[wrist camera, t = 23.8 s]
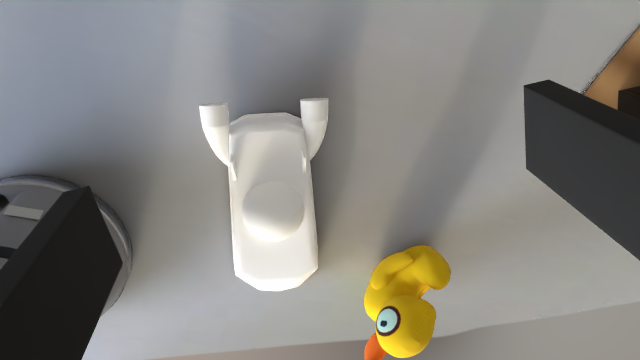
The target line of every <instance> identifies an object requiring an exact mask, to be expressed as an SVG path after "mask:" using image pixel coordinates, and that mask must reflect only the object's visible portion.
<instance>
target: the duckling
mask: <svg viewBox="0 0 640 360" xmlns="http://www.w3.org/2000/svg"><path fill="white" fill-rule="evenodd" d="M450 274H451V271H450V267H449V265H448V263H447V262H446V260H445V259H444V258H443V257H442V256H441V255H440V254H439V253H438V252H437V251H436V250H434V249H433V248H431V247H429V246H426V245H417V246H413V247H411V248H408V249H406V250H404V251H403V252H398V253H394V254H392V255H390V256H388V257H386V258H385V259H383V260H382V261H381V262H380V263H379V265H378V266H377V267H376V268H375V269H374V271H373V273H372V275H371V280H370V282H369V285H368V287H367V290H366V293H365V297H364V306H365V309H366V312H367V314H368V315H369V316H370V317H371V318H372V319H373V320H374V321H376V333H375V334H373V335H372V336H371V337H370V339H369V341H368V343H367V345H366V347H365V360H382V359H383V357H384V356H385V355H386V354H387V353H389V354H391V355H392V356H394V357H398V358H406V357H411V356H414V355H416V354H418V353H419V352H421V351H422V350H423V349H424V348H425V347H426V346H427V344H428V343H429V341H430V339H431V337H432V334H433V330H434V324H435V319H436V311H435V309H434V307H433V306H432V305H431V304H430V303H429V302H427V301H425V300H423V299H420V298H421V297H422V295H423V294H424V293H425V292H426V291H427V290H429V289H430V288H433V289H435V290H440V289H443V288H444V287H445V286H446V285H447V284H448V282H449V279H450Z"/></svg>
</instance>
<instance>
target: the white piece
mask: <svg viewBox="0 0 640 360" xmlns="http://www.w3.org/2000/svg"><path fill="white" fill-rule="evenodd" d="M300 107H301V118H298V117H296V116H293V115H291V114H288V113H286V112H283V113H262V114H246V115H244V116H242V117H240V118H238V119H236V120H234V121H232V122H229V108H228V103H208V104H201V105H199V110H200V116H201V123H202V127H203V130H204V133H205V135H206V138H207V140H208V142H209V144H210V146H211V148H212V149H213V151H214V152H215V154H216V155H217V157H218V158H219V159H220V160H221V161H222V162H223V163H224V164H226V165H227V166H228V172H229V191H230V209H231V226H232V243H233V260H234V267H235V275H236V276H238V277H239V278H241V279H243V280H244V281H246V282H247V283H249V284H250V285H252V286H254V287H255V288H257V289H258V290H268V291H282V290H286V289H290V288H294V287H298V286H299V285H300V284H301V283H303V282H304V281H305V280H306V279H307V278H308V277H309V276H310V275H311V274H312V273H314V272H315V271H316V270H317V269H318V244H317V232H316V221H315V210H314V199H313V188H312V177H311V167H310V160H311V159H312V158H313V157H314V155H315V154H316V153H317V151H318V150H319V148H320V145H321V143H322V141H323V138H324V135H325V132H326V127H327V122H328V98H308V99H302V100H300Z"/></svg>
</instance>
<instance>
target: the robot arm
mask: <svg viewBox="0 0 640 360" xmlns="http://www.w3.org/2000/svg"><path fill="white" fill-rule="evenodd" d="M524 110H525V142H526V169H527V170H529V171H530V172H531V173H532V174H534V175H535V176H536V177H537V178H539V179H540V180H541V181H542V182H543V183H545V184H546V185H547V186H548V187H550V188H551V189H552V190H553V191H555V192H556V193H557V194H558V195H560V196H561V197H562V198H563V199H564V200H566V201H567V202H568V203H569V204H571V205H572V206H573V207H574V208H576V209H577V210H578V211H579V212H581V213H582V214H583V215H584V216H585V217H587V218H588V219H589V220H590V221H592V222H593V223H594V224H595V225H597V226H598V227H599V228H600V229H602V230H603V231H604V232H605V233H607V234H608V235H609V236H610V237H611V238H613V239H614V240H615V241H616V242H618V243H619V244H620V245H621V246H623V247H624V248H625V249H626V250H628V251H629V252H630V253H631V254H632V255H634V256H635V257H636V258H637V259H639V260H640V120H639V119H637V118H635V117H632V116H630V115H628V114H626V113H623V112H621V111H619V110H617V109H614V108H612V107H610V106H607V105H605V104H603V103H601V102H598V101H596V100H594V99H592V98H589V97H587V96H585V95H582V94H580V93H578V92H576V91H573V90H571V89H569V88H567V87H564V86H562V85H560V84H557V83H555V82H553V81H551V80H545V81H541V82H536V83H532V84H528V85H524ZM131 265H132V249H131V244H130V239H129V237H128V234H127V232H126V230H125V228H124V226H123V224H122V222H121V221H120V219H119V218H118V217H117V215H116V214H115V213H114V212H113V211H112V209H111V208H110V207H109V206H108V205H107V204H105V203H104V202H103V201H102V200H101V199H99V198H98V197H97V196H95V195H94V194H93V193H92V191H91V189H90V187H89V186H87V187H80V186H77V185H75V184H72V183H70V182H67V181H64V180H60V179H56V178H51V177H45V176H16V177H10V178H6V179H2V180H0V360H81V359H82V357H83V355H84V352H85V350H86V348H87V346H88V343H89V341H90V339H91V336H92V334H93V332H94V329H95V327H96V325H97V323H98V320H99V318H100V317H101V316H102V315H103V314H104V313H105V312H106V311H107V310H108V309H109V308H111V307H112V306H113V304H114V303H115V302H116V301H117V299H118V298H119V296H120V295H121V293H122V291H123V289H124V286H125V284H126V281H127V279H128V276H129V274H130V270H131Z"/></svg>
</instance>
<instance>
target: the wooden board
mask: <svg viewBox="0 0 640 360" xmlns="http://www.w3.org/2000/svg"><path fill="white" fill-rule="evenodd" d="M637 86H640V26H639V28H638V29H637V30H636V31H635V32H634V34H633V35H632V36H631V37H630V38H629V40H628V41H627V42H626V43H625V44H624V45H623V47H622V48H621V49H620V50H619V51H618V53H617V54H616V55H615V56H614V57H613V59H612V60H611V61H610V62H609V63H608V65H607V66H606V67H605V68H604V69H603V71H602V72H601V73H600V74H599V75H598V77H597V78H596V79H595V80H594V81H593V83H592V84H591V85H590V86H589V87H588V89H587V90H586V91H585V92H584V93H583V95H585V96H587V97H589V98H592V99H594V100H596V101H598V102H601V103H603V104H605V105H607V106H610V107H612V108H614V109H617V108H618V91H620V90H624V89H628V88H633V87H637Z"/></svg>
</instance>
